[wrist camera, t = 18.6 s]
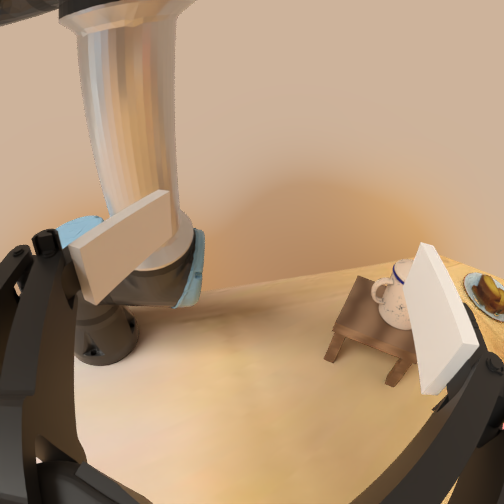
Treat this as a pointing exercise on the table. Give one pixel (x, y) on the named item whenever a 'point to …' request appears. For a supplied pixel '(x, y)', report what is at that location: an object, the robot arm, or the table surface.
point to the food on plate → (486, 294)
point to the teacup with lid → (394, 296)
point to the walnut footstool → (372, 329)
